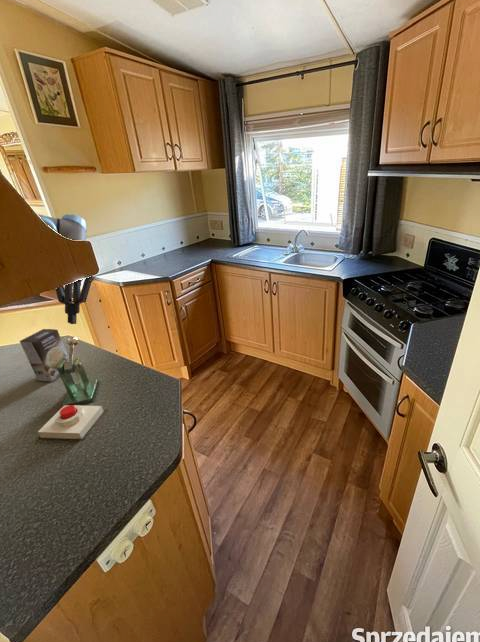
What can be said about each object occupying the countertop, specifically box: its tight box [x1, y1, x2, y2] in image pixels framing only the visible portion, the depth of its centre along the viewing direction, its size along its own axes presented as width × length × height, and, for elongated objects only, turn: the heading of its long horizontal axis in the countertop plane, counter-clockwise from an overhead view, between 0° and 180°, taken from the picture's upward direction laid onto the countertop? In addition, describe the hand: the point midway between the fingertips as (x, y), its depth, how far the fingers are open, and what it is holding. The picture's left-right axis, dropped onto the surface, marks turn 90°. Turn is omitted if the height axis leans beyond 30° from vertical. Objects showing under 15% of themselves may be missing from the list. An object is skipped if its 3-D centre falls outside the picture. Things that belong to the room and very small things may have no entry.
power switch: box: [57, 356, 99, 407], centre depth 91 cm, size 10×8×13 cm
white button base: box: [37, 404, 105, 440], centre depth 82 cm, size 12×10×4 cm
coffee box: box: [19, 328, 69, 382], centre depth 102 cm, size 9×6×16 cm
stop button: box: [60, 405, 77, 419], centre depth 81 cm, size 4×4×2 cm
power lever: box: [64, 336, 80, 374], centre depth 93 cm, size 13×3×3 cm, turn 20°
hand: (72, 323), depth 96 cm, fingers closed
